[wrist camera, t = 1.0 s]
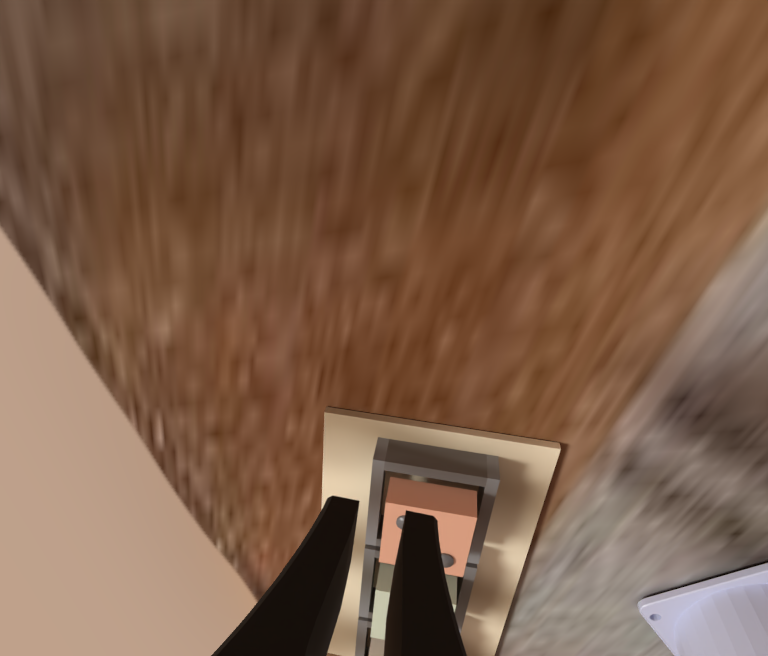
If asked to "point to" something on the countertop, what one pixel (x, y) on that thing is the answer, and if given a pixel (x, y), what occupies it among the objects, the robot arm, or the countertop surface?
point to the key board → (448, 468)
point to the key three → (439, 501)
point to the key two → (384, 594)
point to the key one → (376, 647)
